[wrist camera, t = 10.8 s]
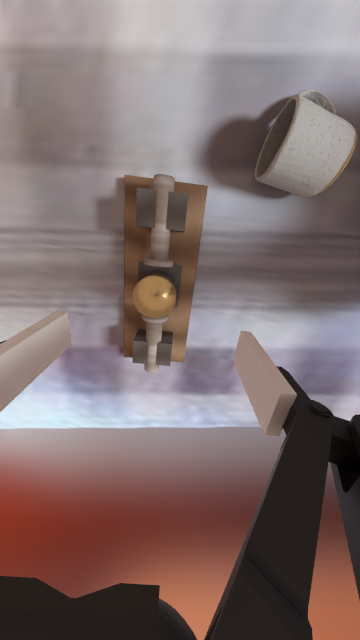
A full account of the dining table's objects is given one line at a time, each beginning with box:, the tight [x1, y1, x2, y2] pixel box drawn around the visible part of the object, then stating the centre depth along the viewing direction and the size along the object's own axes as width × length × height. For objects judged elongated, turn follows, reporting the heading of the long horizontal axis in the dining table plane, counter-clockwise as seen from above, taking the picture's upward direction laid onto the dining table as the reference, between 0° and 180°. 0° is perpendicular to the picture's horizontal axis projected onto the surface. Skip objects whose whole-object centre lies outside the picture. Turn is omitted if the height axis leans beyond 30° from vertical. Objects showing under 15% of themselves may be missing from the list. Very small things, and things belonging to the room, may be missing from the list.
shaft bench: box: [124, 174, 208, 373], centre depth 30 cm, size 28×11×7 cm, turn 174°
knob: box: [133, 270, 176, 318], centre depth 28 cm, size 5×5×7 cm
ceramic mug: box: [255, 89, 357, 197], centre depth 23 cm, size 11×8×8 cm
